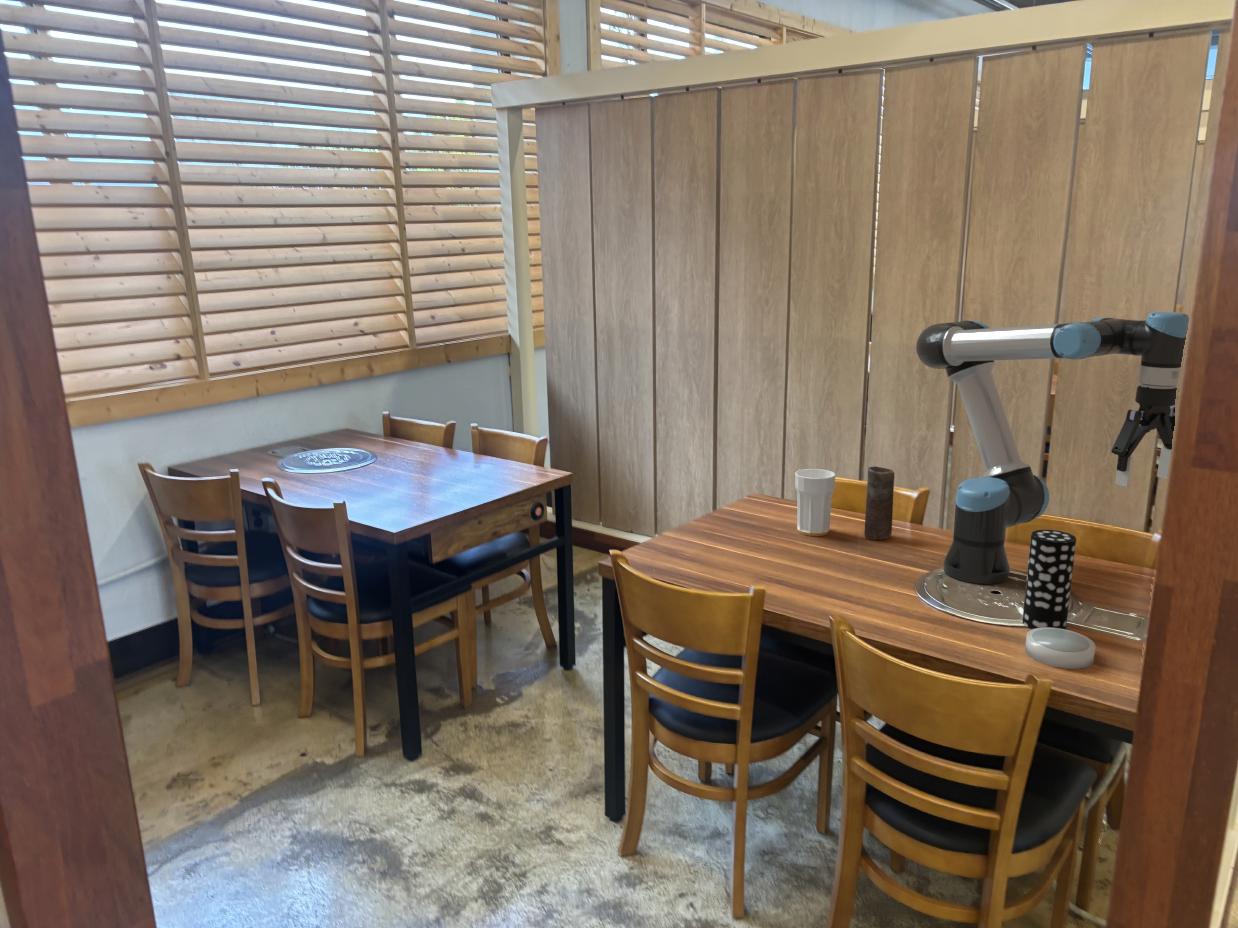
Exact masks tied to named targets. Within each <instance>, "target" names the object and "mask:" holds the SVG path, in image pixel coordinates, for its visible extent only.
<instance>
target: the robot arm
mask: <svg viewBox="0 0 1238 928" xmlns="http://www.w3.org/2000/svg"><path fill="white" fill-rule="evenodd" d="M1188 323H1189V324H1190V317H1189V315H1188V314H1187V313H1185V312H1177V311H1152V312H1149V313H1148V315H1147V318H1146V320H1136V319H1122V318H1114V317H1097V318H1093V319H1091V320H1090V321H1084V322H1083V321H1082V322H1079V321H1078V322H1069V323H1066V322H1065V323H1055V324H1054V323H1053V324H1042V325H1041V324H1039V325H1038V324H1037V325H1023V326H1007V327H1005V326H1004V327H993V328H991V327H990V326H988V325H987V324H986V323H983V322H981V321H977V320H961V321H955V322H942V323H940V322H939V323H935V324H931V325H929V326H928V327H926V328H925V329H924V330H923V331H922V332H921V333H920V334H919V336H918V338H917V341H916V345H915V350H916V354H917V356H918V359H919V360H920V361H921V363H923V365H925V366H926V367H929V368H931V369H935V370H936V369H937V370H944V369H945V373H946V375H947V377H948V380H950V381H952V382H954V383H955V384H956V385H957V388H958V391H959V394H960V397H961V400H962V403H963V406H964V409H965V412H966V415H967V418H968V421H969V424H970V427H971V430H972V434H973V435H974V439H975V442H976V444H977V448H978V451H979V454H980V457H981V461H982V463H983V466H984V469H985V471H984V474H983V475H982V476H981V477H972V478H968V479H966V480H964V481H962V482H960V483H959V485H958V487H957V490H956V496H955V497H954V500H955V508H954V509H955V511H954V523H953V525H954V526H953V537H952V542H951V545H950V546H949V549H948V551H947V553H946V556H945V558H944V561H943V572H944V573H945V574H946V575H947V576H949V577H951V578H953V579H956V580H959V581H962V582H967V583H972V584H973V583H974V584H980V585H981V584H982V585H983V584H984V585H986V584H988V585H991V584H993V585H994V584H1000V583H1004V582H1006V581H1008V580H1009V579H1010V573H1011V572H1010V571H1011V568H1010V563H1009V559H1008V556H1007V552H1006V549H1005V538H1006V530H1007V528H1011V527H1013V526H1017V525H1021V524H1026V523H1029V522H1032V521H1033V520H1035V519H1037V518H1039V517H1040V516H1042V515H1043V514H1044V513H1045V511H1046V510H1047V508H1048V506H1049V502H1050V491H1049V488H1048V485H1047V484H1046V482H1045V481H1044V480H1043V479H1042V478H1039V476H1037V475H1036V474H1033V471H1032V467H1031V465H1030V464H1028V463H1027V462H1024V461H1023V460H1022V459H1021V456H1020V453H1019V450H1018V447H1017V444H1016V441H1015V439H1014V435H1013V433H1012V430H1011V427H1010V424H1009V421H1008V420H1009V419H1008V417H1007V415H1006V412H1005V410H1004V409H1005V408H1004V406H1003V403H1002V400H1001V397H1000V394H999V391H998V389H997V385H996V383H995V380H994V377H993V374H992V370H993V369H994V367H995V365H996V363H995V361H1017V360H1018V361H1021V360H1044V359H1045V360H1048V359H1050V360H1051V359H1053V360H1054V359H1066V360H1083V359H1087V358H1091V357H1092V358H1093V357H1100V356H1108V355H1128V356H1137V357H1139V356H1140V359H1141V360H1140V366H1139V371H1138V377H1137V383H1138V386H1137V387H1136V393H1135V399H1134V401H1135V402H1136V403H1137V404H1139V407H1138V410H1135V409H1128V410H1127V413H1126V417H1125V420H1124V423H1123V424H1122V427H1121V429H1120V431H1119V434H1117V438H1116V440H1115V442H1114V444H1113V446H1112V448H1111V450H1110V452H1111V454H1114V455H1117V464H1116V474H1115V481H1114V484H1115V485H1118V486H1121V487H1125V488H1128V487H1130V483H1131V475H1132V469H1133V463H1134V457H1133V456H1132V454H1133V453H1134V451H1135V450H1136V448H1137V447H1138V445H1139V444H1140V443H1141V441H1142V440H1143V438H1144V437H1145V436H1146V434H1147V433H1150V432H1151V431H1154V430H1156V431H1157V433H1158V435H1159V437H1160V439H1161V442H1162V444H1163V446H1164V447H1161V449H1160V455H1159V460H1158V468H1157V472H1156V477H1158V478H1161V479H1165V480H1168V479H1167V474H1168V467H1169V463H1170V456H1171V449H1172V439H1173V431H1174V426H1175V406H1176V405H1175V399H1176V390H1177V388H1178V386H1177V383H1178V378H1179V372H1180V367H1181V362H1182V357H1183V349H1184V345H1185V340H1186V334H1187V330H1188V331H1189V328H1188Z"/></svg>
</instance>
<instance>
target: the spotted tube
mask: <svg viewBox="0 0 1238 928" xmlns="http://www.w3.org/2000/svg"><path fill="white" fill-rule="evenodd" d="M1076 542H1077V537H1076V536H1075V535H1074V534H1072V533H1068V532H1066V531H1060V530H1055V529H1037V530H1033V531H1031V533H1030V542H1029V544H1030V545H1029V550H1028V551H1029V553H1028V562H1027V572H1026V582H1025V583H1026V585H1025V592H1024V594H1025V595H1024V601H1023V604H1024V605H1023V610H1022V611H1023V612H1022V613H1023V614H1022V624H1023V625H1024V626H1025V627H1027V628H1028V629H1030V630H1032V629H1036V628H1045V627H1049V628H1060V629H1065V630H1067V622H1068V615H1069V606H1070V597H1071V589H1072V588H1071V587H1072V579H1073V570H1074V564H1075V563H1074V560H1075V554H1076V553H1075V552H1076V544H1077V543H1076Z"/></svg>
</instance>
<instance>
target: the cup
mask: <svg viewBox="0 0 1238 928" xmlns="http://www.w3.org/2000/svg"><path fill="white" fill-rule="evenodd" d="M794 474H795V475H794V476H795V477H794V479H795V480H794V481H795V482H794V485H795V487H794V488H795V490H796V492H797V494H796V495H797V496H796V497H797V499H796V502H797V504H796V505H797V508H796V510H797V511H796V512H797V513H796V515H797V516H796V517H797V519H796V520H797V521H796V523H797V524H796V525H797V527H796V528H797V532H798V533H799V534H801V535H803V536H807V537H823V536H826V535H828V534H829V533H830V526H831V525H830V524H831V513H832V512H831V511H832V510H831V509H832V499H833V497H832V496H833V492H834V491H835V487H836V486H835V485H836V473H835V472H834V471H831V470H827V469H822V468H821V469H820V468H804V469H799V470H797V471H795V473H794Z"/></svg>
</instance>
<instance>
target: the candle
mask: <svg viewBox="0 0 1238 928" xmlns="http://www.w3.org/2000/svg"><path fill="white" fill-rule="evenodd" d="M894 488H895V472H894V471H893V469H892V468H885V467H879V466H869V467H868V469H867V482H866V499H865V500H866V501H865V514H864V533H863V534H864V538H866V539H867V540H868V539H869V540H872V541H873V540H886V539H889V538H890V536H891V535H892V532H893V513H894V511H893V509H894V508H893V507H894V490H895V489H894Z"/></svg>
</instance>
